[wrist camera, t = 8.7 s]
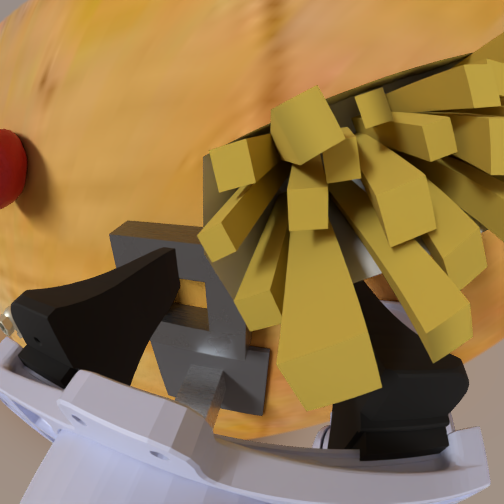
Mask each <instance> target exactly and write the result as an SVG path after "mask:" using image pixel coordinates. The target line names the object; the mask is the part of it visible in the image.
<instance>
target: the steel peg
mask: <svg viewBox="0 0 504 504" xmlns="http://www.w3.org/2000/svg"><path fill="white" fill-rule="evenodd" d="M225 392H226V384H225V379H224V374H223V370H219V369H213V368H207V367H201V366H196V365H191V366H190V368H189V370H188V372H187V374H186V376H185V379H184V381H183V383H182V385H181V387H180V390H179V392H178V394H177V396H176V398H175V401H176V402H179V403H181V404H184V405H186V406H188V407H190V408H191V409H193V410H194V411H196V412H197V413H199V414H201V415H202V416H203V417H204V418H205V420H206V421H207V422H208V424H209V425H210V427H211V428H212V430H213V428H214V425H215V422H216V419H217V416H218V413H219V410H220V407H221V404H222V401H223V398H224V395H225Z"/></svg>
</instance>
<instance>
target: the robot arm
mask: <svg viewBox="0 0 504 504" xmlns="http://www.w3.org/2000/svg"><path fill="white" fill-rule="evenodd" d="M353 286H354V289H355V292H356V295H357V298H358V301H359V304H360V307H361V310H362V314H363V317H364V320H365V324H366V327H367V330H368V334H369V337H370V341H371V345H372V348H373V352H374V356H375V360H376V364H377V368H378V372H379V376H380V380H381V385H382V388H379V389H377V390H374V391H371V392H368V393H366V394H363V395H360V396H357V397H354V398H351V399H348V400H345V401H341V402H338V403H335V404H333V408H332V412H331V417H330V425H327V426H324V427H323V428H321V429H320V431H319V432H318V433H317V435H316V438H315V441H314V443H313V445H312V448H304V447H293V446H283V445H275V444H267V443H261V442H254V441H248V440H243V439H237V438H232V437H227V436H222V435H218V434H213V430H212V428H211V427H210V425H209V424H208V422H207V421H206V420H205V418H204V417H203V416H202V415H201V414H199V413H197V412H196V411H194V410H193V409H191V408H190V407H188V406H186V405H184V404H181V403H179V402H176V401H174V400H171V399H169V398H166V397H162V396H159V395H156V394H153V393H150V392H146V391H143V390H140V389H137V388H135V387H132V386H130V385H131V382H132V379H133V376H134V374H135V371H136V369H137V366H138V364H139V361H140V359H141V357H142V355H143V352H144V350H145V348H146V346H147V344H148V342H149V340H150V338H151V337H152V335H153V334H154V332H155V330H156V329H157V327H158V326H159V324H160V322H161V321H162V319H163V318H164V316H165V315H166V313H167V311H168V310H169V308H170V307H171V305H172V303H173V301H174V299H175V297H176V295H177V292H178V290H179V288H180V280H179V273H178V266H177V258H176V250H175V248H167V247H162V248H159V249H157V250H154V251H152V252H150V253H148V254H146V255H144V256H142V257H139V258H137V259H135V260H133V261H131V262H129V263H127V264H125V265H123V266H120V267H118V268H116V269H114V270H111V271H109V272H107V273H104V274H102V275H99V276H96V277H93V278H90V279H87V280H83V281H80V282H76V283H72V284H68V285H64V286H58V287H52V288H45V289H34V290H26V291H25V292H23V293H22V294H21V295H20V296H19V297H18V298H17V299H16V300H15V301H14V302H13V303H12V304H11V314H12V318H13V320H14V322H15V324H16V326H17V328H18V330H19V331H20V333H21V335H22V337H23V339H24V340H25V342H26V344H27V345H26V346H25V347H24V348H22V347H21V346H20V345H19V344H18V343H17V342H15V341H13V340H12V339H10V338H9V337H5V338H4V340H3V341H2V342H1V343H0V399H1V400H2V402H3V403H4V404H5V405H6V406H7V407H8V408H9V409H11V410H12V411H13V412H14V413H15V414H17V415H18V416H19V417H20V418H21V419H22V420H24V421H25V422H26V423H27V424H29V425H30V426H31V427H32V428H34V429H35V430H36V431H37V432H39V433H40V434H41V435H43V436H44V437H45V438H47V439H48V440H49V441H51V442H52V443H53V444H52V446H51V447H50V449H49V451H48V452H47V454H46V456H45V458H44V459H43V461H42V463H41V465H40V466H39V468H38V470H37V472H36V474H35V475H34V477H33V479H32V481H31V483H30V484H29V486H28V488H27V490H26V492H25V494H24V496H23V498H22V499H21V502H20V503H19V504H457V503H459V502H460V501H462V500H464V499H467V498H469V497H470V496H472V495H474V494H476V493H478V492H479V491H481V490H483V489H485V488H487V487H488V486H489V485H490V476H489V469H488V464H487V458H486V452H485V448H484V443H483V439H482V434H481V430H480V427H479V426H475V427H471V428H466V429H460V430H456V431H455V427H454V423H453V419H452V415H451V411H452V410H453V409H454V407H455V406H456V405H457V404H458V403H459V402H460V400H461V399H462V398H463V396H464V395H465V394H466V392H467V390H468V387H469V379H468V377H467V374H466V371H465V368H464V365H463V363H462V361H461V359H460V358H458V357H456V356H454V355H452V354H450V353H449V354H448V355H446V356H444V357H443V358H441V359H440V360H438V361H437V362H435V363H433V362H432V360H431V358H430V356H429V354H428V352H427V350H426V348H425V347H424V345H423V343H422V341H421V339H420V337H419V335H418V333H417V332H416V330H415V328H414V326H413V324H412V323H411V321H410V319H409V317H408V315H407V314H406V312H405V310H404V308H403V307H402V305H401V303H400V302H394V301H382V300H379V299H378V298H377V297H376V295H375V294H374V293H373V292H372V291H371V289H370V288H369V287H368V286H367V284H366V283H365V282H364V281H363V280H361V281H358V282H356V283H353Z"/></svg>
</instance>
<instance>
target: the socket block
mask: <svg viewBox="0 0 504 504" xmlns="http://www.w3.org/2000/svg"><path fill="white" fill-rule="evenodd" d="M202 229H203V227H194V226H184V225H172V224H161V223H149V222H137V221H126V222H125V223H124V224H122V225H121V226H120V227H118V228H117V229H115V230H114V231H113V232H111V233H110V234H109V236H110V241H111V246H112V251H113V255H114V260H115V264H116V268H118V267H120V266H123V265H125V264H127V263H129V262H131V261H133V260H135V259H137V258H139V257H142V256H144V255H146V254H148V253H150V252H152V251H154V250H157V249H159V248H162V247H167V248H175V250H176V258H177V266H178V273H179V278H181V279H188V280H194V281H201V282H205V286H206V298H207V309H205V308H200V307H194V306H189V305H183V304H178V303H172V305H171V307H170V308H169V310H168V311H167V313H166V315H165V316H164V318H163V319H162V321H161V322H160V324H159V326H158V327H157V329H156V330H155V332H154V334H153V335H152V337H151V338H150V341H154V342H158V343H162V344H166V345H170V346H174V347H178V348H182V349H186V350H191V351H195V352H200V353H205V354H210V355H215V356H220V357H225V358H230V359H236V360H242V361H245V360H246V357H247V353H248V350H249V346H250V343H251V334H252V331H251V332H250V330H249V329H248V327H247V325H246V323H245V321H244V319H243V318H242V316H241V314H240V312H239V310H238V308H237V307H236V305H235V303H234V300H233V299H232V297H231V296H230V294H229V293H228V291H227V290H226V288H225V286H224V285H223V283H222V282H221V280H220V279H219V277H218V275H217V274H216V272H215V271H214V269H213V267H212V266H211V264H210V263H209V261H208V259H207V258H206V256H205V255H204V247H203V246H202V244H201V242H200V240H199V239H198V237H197V235H198V234H199V232H200V231H201V230H202Z"/></svg>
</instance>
